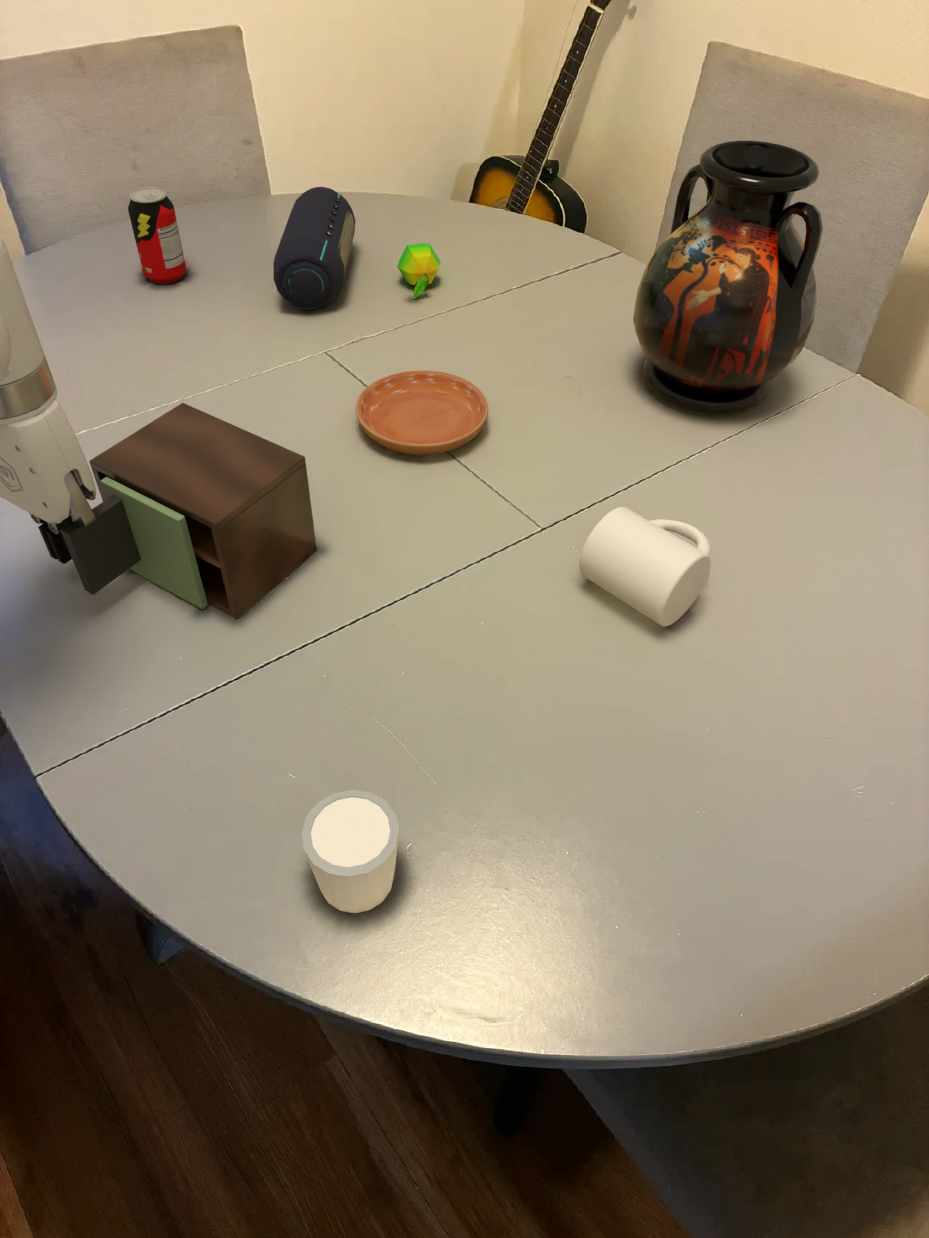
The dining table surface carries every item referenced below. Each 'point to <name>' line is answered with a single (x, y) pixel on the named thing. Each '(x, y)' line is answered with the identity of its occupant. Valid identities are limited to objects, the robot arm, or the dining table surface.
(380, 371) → the dining table surface
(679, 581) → the mug
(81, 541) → the sliding door
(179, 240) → the beverage can
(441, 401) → the saucer
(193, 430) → the cupboard
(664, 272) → the amphora vase
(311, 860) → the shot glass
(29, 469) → the robot arm
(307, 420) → the dining table surface
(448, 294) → the dining table surface
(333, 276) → the portable speaker
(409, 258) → the apple
